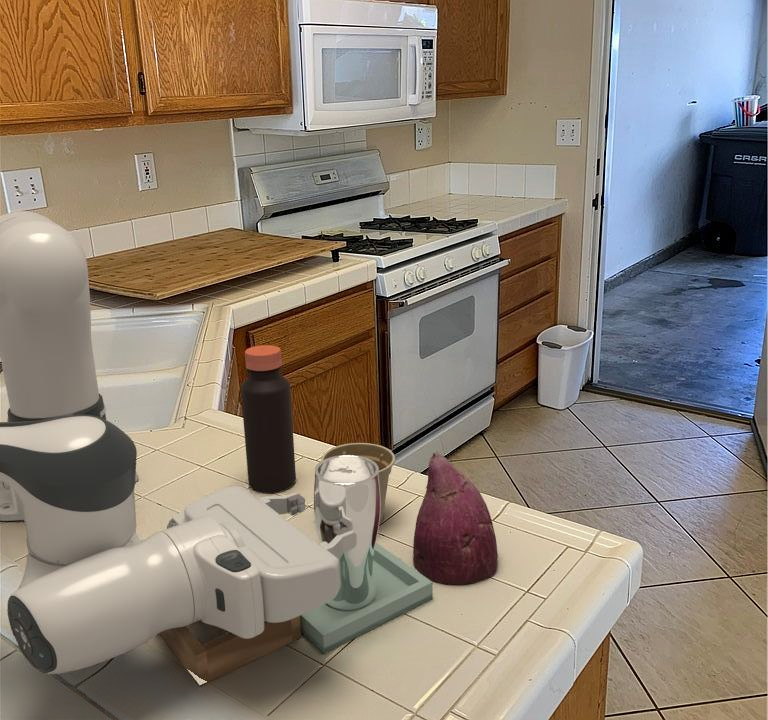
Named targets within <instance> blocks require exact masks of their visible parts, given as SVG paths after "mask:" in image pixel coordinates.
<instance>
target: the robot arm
mask: <svg viewBox="0 0 768 720" xmlns="http://www.w3.org/2000/svg"><path fill="white" fill-rule="evenodd" d="M85 253H86V252H85V251H84V248H83V247H82V244H80V242H79V241H78V239H77V238H76V237H75V236H74V235H73V234H72V233H71V232H69V231H68V230H67V229H65V228H64V227H62V226H61V225H59V224H58V223H56V222H54V221H53V220H51V219H50V218H48V217H47V216H45V215H42V214H40V213H36V212H33V211H27V210H20V211H17V210H16V211H12V212H8V213H6V214H2V215H0V361H1V367H2V373H3V377H4V384H5V388H6V393H7V394H6V395H7V401H8V405H9V408H8V410H7V419H6V420H7V421H2V422H0V521H1V522H3V521H4V522H6V521H7V522H9V521H24V526H25V533H26V546H27V547H26V548H27V552H28V554H27V555H26V563H25V569H24V574H23V577H22V580H21V582H20V584H19V586H18V588H17V589H16V590H14V592H12V593H11V594H10V596H9V598H8V600H7V618H8V623H9V627H10V629H11V632H12V636H13V637H14V639H15V641H16V643H17V646H18V648H19V650H20V653H22V654H21V655H23V657H24V658H25V659H26V661H27V662H28V663H29V664H30V665H31V667H33V668H34V669H36V670H38V671H39V672H40V673H42V674H45V675H59V674H64V673H71V672H74V671H75V672H76V671H78V670H82V669H85V668H89V667H92V666H96V665H97V664H100V663H104V662H106V661H108V660H111V659H113V658H116V657H118V656H121V655H124V654H126V653H128V652H130V651H133V650H135V649H137V648H140V647H141V646H143V645H145V644H146V643H148V642H149V641H151V639H153V638H154V637H156V636H157V635H158V634H159V635H160V632H162V631H165V630H168V629H172V628H179V627H184V626H186V627H188V626H190V625H192V624H194V623H196V622H199V621H201V622H202V623H204V624H207V625H211V626H214V627H217V628H219V629H222V630H225V631H227V632H228V633H229V632H231V633H233V634H235V635H237V636H239V637H242V638H245V639H249V638H253V637H255V636H257V635H259V634H261V633H262V632H263V631H264V621H267V622H271V623H279V622H284V621H288V620H291V619H293V618H296V617H298V616H300V615H303V614H305V613H307V612H309V611H312V610H314V609H316V608H318V607H320V606H322V605H324V604H326V603H328V602H329V601H331V600H333V599H334V598H335V597H336V596H337V594H338V592H339V590H340V587H341V573H340V562H339V559H340V557H341V556H342V555H343V553H344V552H347V551H349V550H351V549H353V548H355V547H356V545H357V535H356V533H355V532H353V531H352V530H350V529H349V528H347V527H344V528H342V529H339V530H336V531H334V532H333V533H334V539H333V540H332V541H331V542H330V543H329V544H328V543H327V542H322V543H319V542H316V540H314V539H313V538H311V537H310V536H309V535H307V534H306V533H305V532H303V531H302V530H301V529H300V528H298V527H297V526H296V525H294V524H293V523H291V522H290V521H289V520H288V519H286V518H285V517H284V516H282V515H286V514H289V515H290V516H295V515H297V514H298V513H300V514H301V513H303V512H305V510H306V498H305V497H304V496H302V495H301V494H300V493H298V492H292V493H290V494H287V495H266V496H262V497H257V496H256V495H254V494H253V493H252V492H251V491H249V489H247V488H245V487H244V486H240V485H238V486H237V485H235V486H231V485H230V486H228V487H225V488H222V489H220V490H217V491H214V492H212V493H210V494H208V495H205V496H203V497H201V498H199V499H196V500H194V501H193V502H191V503H189V504H188V505H187V506H186V507H185V508H184V511H181V512H178V513H176V514H174V515H172V516H171V519H170V520H169V522H168V524H167V526H166V528H165V529H163V530H161V531H157V532H155V533H153V534H151V535H150V536H148V537H147V538H145V539H141V538H140V537H139V536H138V535H137V530H136V528H137V515H136V514H137V513H136V511H137V510H136V500H135V499H136V498H135V486H136V482H137V481H138V480H139V475H138V472H137V457H138V456H137V455H138V451H137V447H136V444H135V442H134V441H133V439H132V438H131V437H130V436H129V435H128V434H126V433H125V432H124V431H123V430H122V429H120V428H119V427H118V426H117V425H115V424H114V423H112V422H110V421H108V420H107V415H106V411H107V408H106V404H105V403H104V399H103V395H102V394H101V393H100V392H99V384H98V379H97V371H96V365H95V364H96V363H95V357H94V351H93V344H92V341H93V340H92V317H91V316H92V313H91V293H90V281H89V280H90V279H89V271H88V268H89V267H88V262H87V255H86V254H85ZM298 515H299V514H298Z"/></svg>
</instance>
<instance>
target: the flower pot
mask: <svg viewBox="0 0 768 720" xmlns="http://www.w3.org/2000/svg"><path fill="white" fill-rule="evenodd" d="M340 455H356V456H362V457H366V458H368V459H371V460H372V461H374V462H375V463H376V464H377V465H378V467H379V482H380V495H381V513H380V523H381V522H382V521H383V519H384V516H385V515H384V513H385V508H386V507H385V506H386V505H385V504H386V499H387V491H388V483H389V476H390V475H391V473H392V467H393V466H394V465H395V462H396V455H395V454H394V452H393V451H392V450H391V449H389V448H387V447H385V446H383V445H380V444H376V443H375V444H374V443H368V442H355V443H354V442H351V443H344V444H340V445H337V446H334V447H332V448H330V449H328V450H327V451H325V452H324V453H323V455H322V456H321V459H320V462H321V461H323V460H325V459H327V458H330V457H334V456H340Z"/></svg>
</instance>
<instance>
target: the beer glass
mask: <svg viewBox="0 0 768 720" xmlns="http://www.w3.org/2000/svg"><path fill="white" fill-rule="evenodd" d="M313 485H314V487H313V514H314V522H315V529H316V533H317V539H318V544H319V543H322V542H327V543H328V544H329V543H330V542H331V541H332V540H333V539H334V533H333V532H334V531H336V530H339V529H342V528H344V527H347V528H349V529H350V530H352V531H353V532H355V533H356V535H357V545H356V547H355V548H353V549H351V550H349V551H347V552H344V553H343V555H342V556H341V557H340V559H339V562H340V573H341V587H340V590H339V592H338V594H337V596H336V597H335V598H334V599H333V600H331V601H329V602H328V603H326V604H328V605H329V606H331V607H333V608H336V609H341V610H354V609H359V608H362V607H364V606H366V605H368V604H369V603H371V602H372V601H373V600H374V598H375V596H376V584H375V579H374V574H373V556H374V550H375V545H376V543H377V540H378V539H377V538H378V534H379V529H380V524H381V522H380V513H381V495H380V482H379V467H378V465H377V464H376V463H375V462H374V461H372V460H371V459H368V458H366V457H362V456H356V455H340V456H334V457H330V458H327V459H325V460H323V461H321V460H320V462H318V463H317V464H316V466H315V467H314V484H313Z"/></svg>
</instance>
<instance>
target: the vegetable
mask: <svg viewBox="0 0 768 720" xmlns="http://www.w3.org/2000/svg"><path fill="white" fill-rule="evenodd" d="M427 469H428V471H427V484H426V487H425V490H424V491H425V494H424V496H423V499H422V502H421V505H420V507H419V510H418V513H417V516H416V521H415V527H414V528H415V529H414V534H413V544H412V545H413V550H412V551H413V554H412V556H413V557H412V563H413V566H414V569H415V570H416V571H417V572H419V573H420V574H422V575H423V576H425V577H426V578H427V579H429V580H430V581H432V582H435V583H440V584H444V585H456V586H457V585H461V586H462V585H469V584H475V583H479V582H481V581H485V580H487V579H489V578H491V577H492V576H494V575H495V574H496V573H497V572H498V571H497V569H498V559H499V557H498V556H499V555H498V545H497V538H496V537H497V536H496V534H495V528H494V524H493V520H492V516H491V514H490V513H491V512H490V511H489V508H488V505H487V503H486V501H485V499H484V498H483V496H482V494H481V492H480V490H479V489H478V487H476V484H475V483H473V482H472V481H471V479H469V478H468V477H467V476H466V475H465V474H463V473H462V472H461V471H460V470H459V469H457V467H456V466H454V464H453V463H452V462H451V461H450V460H448V459H447V458H446V457H445V456H443V455H441V454H440V452H438V450H436V449H435V450H433V453H432V456H431V457H430V459H429V462H428V468H427ZM424 491H423V492H424Z"/></svg>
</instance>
